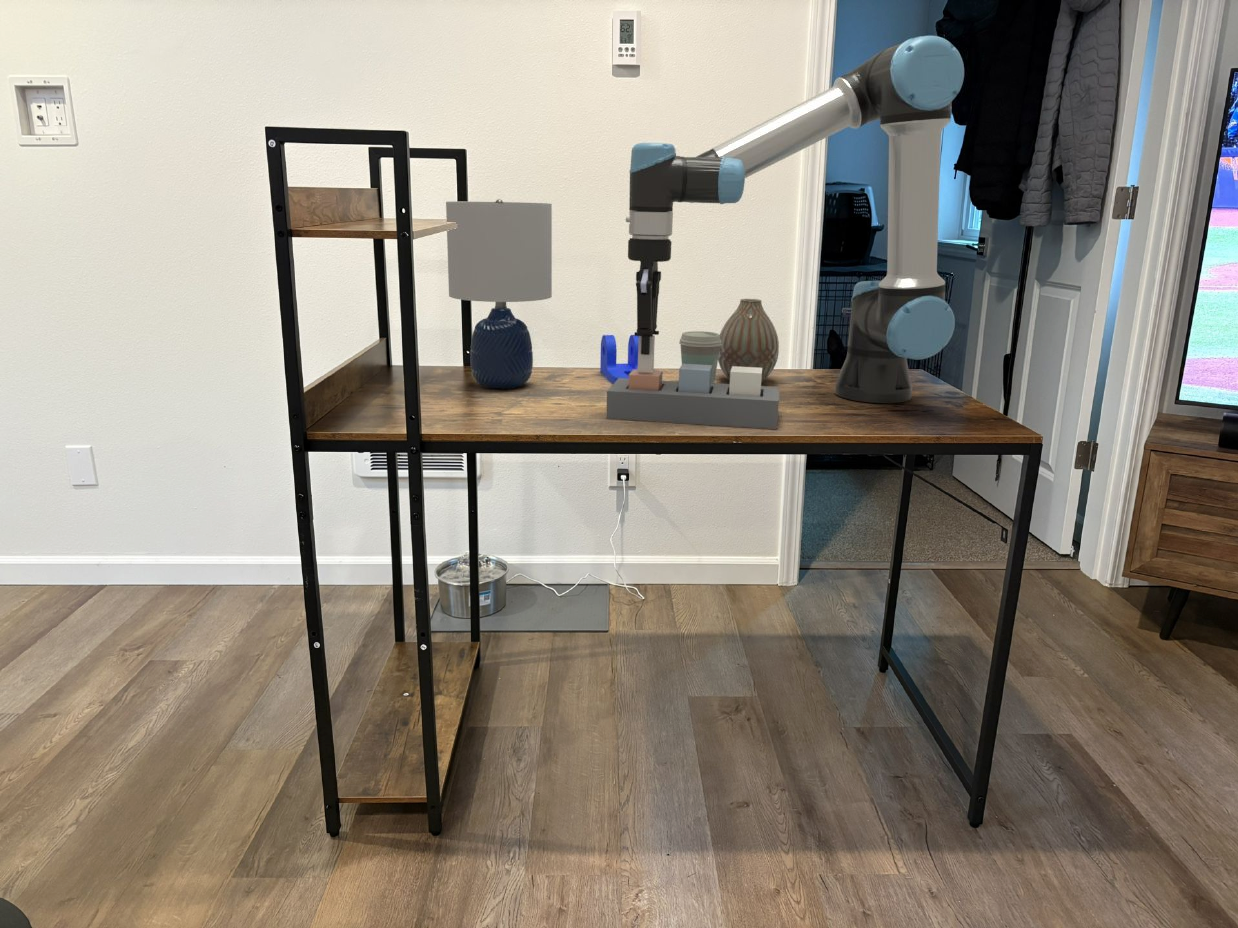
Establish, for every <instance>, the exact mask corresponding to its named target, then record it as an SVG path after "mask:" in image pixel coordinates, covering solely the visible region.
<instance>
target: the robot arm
mask: <svg viewBox="0 0 1238 928" xmlns="http://www.w3.org/2000/svg"><path fill="white" fill-rule="evenodd" d="M964 78H965V67H964V61H963V58H962V56H961V54H960V51H959V50H958V49H957V48H956V47H955V45H953V44H952V43H951V42H950V41H949V40H947V39H946V38H944V37H940V36H937V35H923V36H921V35H920V36H916V37H911V38H909V39H906V40H905V41H904V42H901V43H899V44H896V45H892V46H890V47H887V48H885V49H882V50H881V51H879V52H878V53H876V54H875V55H873V56H872V57H870V58H868V59H867V60H865V61H864V62H863V63H862V64H860V65H858V66H857V67H855V68H853V69H852V70H850V71H848V72H846V73H845V74H843V75H841V76H839V77H837V78H836V79H835V80H834V83H833V86H832V87H830V88H828V89H826V90H825V91H822V92H820V93H818V94H816V95H814V96H813V97H811V98H808V99H806V100H804V101H803V102H801V103H799V104H797V105H795V106H793V107H791V108H788V109H786V110H785V111H782V112H781V113H779V114H777V115H775V116H772V117H771V118H769V119H767V120H765V121H763V122H762V123H760V124H757V125H755V126H753V127H752V128H749V129H748V130H745V131H744V132H742V133H739V134H737V135H736V136H734V137H732V138H730V139H728V140H726V141H724V142H722V143H720V144H718V145H716V146H714V147H712V148H711V149H709V150H706V151H705V152H704V151H703V153H700V154H698V155H696V156H692V157H691V156H680V155H677V153H676V147H675V145H674V144H672V143H662V142H639V143H636V144H635V145H633V147H632V148H631V157H630V169H629V199H628V201H629V205H628V207H629V208H628V209H629V212H628V213H629V216H626V217H625V222H626V223H628V234H629V235H630V236H632V237H630V238H629V239H628V240H627V244H628V245H627V258H628V260H629V261H634V262H639V263H640V265H639V270H638V271H636V273H635V286H636V324H637V325H636V328H637V329H636V331H635V332H634V334H633V335H635V336H639V341H638V372H648V373H653V371H655V370H654V369H655V368H654V365H655V344H656V343H655V340H656V339H655V338H656V337H655V335H656V336H658V335H660V331H659V330H657V327H658V324H657V320H658V308H659V306H658V304H659V294H660V282H661V280H662V271H661V270H660V271H659V267H658V266H659V264H658V263H660V262H661V263H662V262H665V263H666V262H669V261H670V260H671V258H672V241H671V239H670V238H669V237H671V236H673V221H674V220H673V217H674V212H673V210H674V209H673V208H674V206H673V205H674V203H690V204H694V203H695V204H720V205H724V204H737V203H738V202H740V200H741V199H742V197H743V193H744V190H745V182H746V181H745V180H746V179H747V178H748V177H750V176H752V175H755V174H756V173H758V172H760V171H762V170H765V169H766V168H768V167H770V166H773V165H774V164H776V163H778V162H781V161H783V160H785V159H786V158H789V157H790V156H793V155H794V154H797V153H798V152H800V151H802V150H804V149H806V148H808V147H810V146H812V145H815V144H817V143H819V142H820V141H823V140H825V139H827V138H828V137H830V136H832V135H834V134H836V133H839V132H841V131H842V130H845V129H846V128H848V127H849V128H851V129H855V130H856V129H859V128H860V127H862V126H864V125H867V124H869V123H871V122H874V121H877V120H880V121H879V122H880V123H879V125H880V128H881V129H882V130H883V131H884V132H885V133H886V134H887V135H888V191H887V192H888V194H887V197H888V199H887V200H888V203H887V207H888V208H887V210H888V211H887V216H888V217H887V262H886V263H887V265H886V266H887V270H886V276H885V277H884V278H883V279H881V280H864V281H859V282H857V283H856V284H854V287H853V292H852V297H851V299H850V301H851V310H850V317H849V318H850V319H849V331H848V339H847V340H848V342H847V353H846V358H845V360H844V362H843V365H842V367H841V368H840V371H839V374H838V376H837V379H836V380H835V384H834V385H835V386H834V394H835V395H836V396H838V397H839V398H843V399H847V400H851V401H857V402H863V403H872V404H874V403H875V404H899V403H905V402H908V401H910V400H912V395H913V385H912V380H911V375H910V370H909V365H908V360H907V359H910V360H925V359H928V358H932V357H933V356H935V355H936V354H938V353H940V352H941V351H942V350H943V349H944V348H945V346H947V345H948V343H949V342H950V340H951V338H952V336H953V334H954V331H955V327H956V326H955V324H956V323H955V322H956V320H955V319H956V317H955V314H954V312H953V310H952V308H951V307H950V304H949V303H948V302H947V301H946V280H944V279H943V278H942V277H941V276H940V275H939V273H938V270H937V269H938V268H937V267H938V241H939V240H938V239H939V211H940V210H939V206H940V205H939V204H940V180H941V178H940V175H941V147H942V145H941V143H942V141H941V140H942V138H941V137H942V132H943V130H944V129H945V127H946V126H948V124H950V123H951V119H952V118H951V117H952V102H953V100H955V98H956V97H957V95H958V94H959V93H960V91H961V89H962V86H963V83H964Z"/></svg>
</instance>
